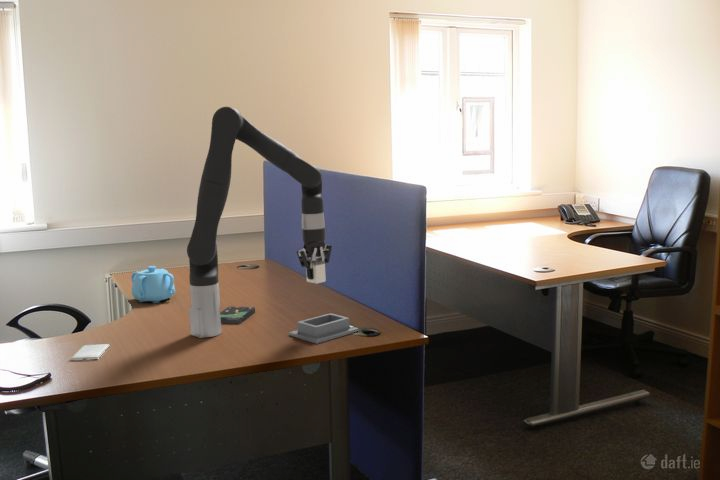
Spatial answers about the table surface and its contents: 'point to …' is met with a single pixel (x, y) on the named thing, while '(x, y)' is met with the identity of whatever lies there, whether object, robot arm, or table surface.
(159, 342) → the table surface
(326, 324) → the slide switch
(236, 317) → the disk drive
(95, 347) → the hard drive
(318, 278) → the block
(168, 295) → the decorative pot
